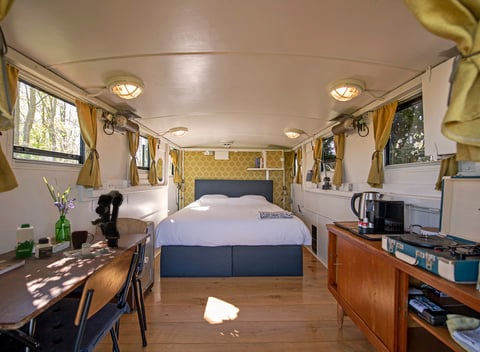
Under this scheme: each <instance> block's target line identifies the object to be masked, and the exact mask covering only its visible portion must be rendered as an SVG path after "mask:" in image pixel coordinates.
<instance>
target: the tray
mask: <svg viewBox="0 0 480 352" xmlns="http://www.w3.org/2000/svg"><path fill="white" fill-rule="evenodd" d="M62 254H63V256H66V257H67V258H70V259H71V258H74V257H76V255H78V254H82V249H79V250H74V249H73V250H69V251H64V252H62Z"/></svg>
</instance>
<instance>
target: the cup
mask: <svg viewBox="0 0 480 352" xmlns="http://www.w3.org/2000/svg"><path fill="white" fill-rule="evenodd" d="M70 235H71V236H70V237H71V243H72V248H73V250H79V249H82V245H83V244H84V243H87V240H88V237H89V236H88V235H91V236H92V240H91V241H90V242H88V243H89V244H91V243H93V241H94V239H95V236H94V234H93V233H91V232H89V231H88V230H75V231H71V234H70Z"/></svg>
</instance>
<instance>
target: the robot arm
mask: <svg viewBox="0 0 480 352" xmlns="http://www.w3.org/2000/svg"><path fill="white" fill-rule="evenodd" d="M123 202H124V195H123V194H122V193H121V192H120V191H119V190H110V192H107V193H103V194H102V193H101V194H100V196H99V198H98V201H97V203H96V204H97V206H96V207H95V209H94V210H95V213H96V214H97V215H98V216H97V217H95V218H93V219H91V220H90V224H91V225H92V226H97V227H99V228H100V231H101V234H102V236H103V237H104V238H105V240H107V241H106V245H107V248H112V249H114V247H115V248H119V247H118V246H119V245H118V244H119V239H121V234H120V231H119V229H120V228H118V225H117V224H118V219H119V211H120V207H121V206H122V205H123ZM111 205H112V207H111ZM111 209H112V210H111Z"/></svg>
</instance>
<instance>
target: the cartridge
mask: <svg viewBox="0 0 480 352" xmlns="http://www.w3.org/2000/svg"><path fill="white" fill-rule="evenodd" d="M89 243H90V242H86V243H84V244H83V245H82V252H81V253H82V256H88V255H90V252H91V247H92V244H91V243H90V244H89Z"/></svg>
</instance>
